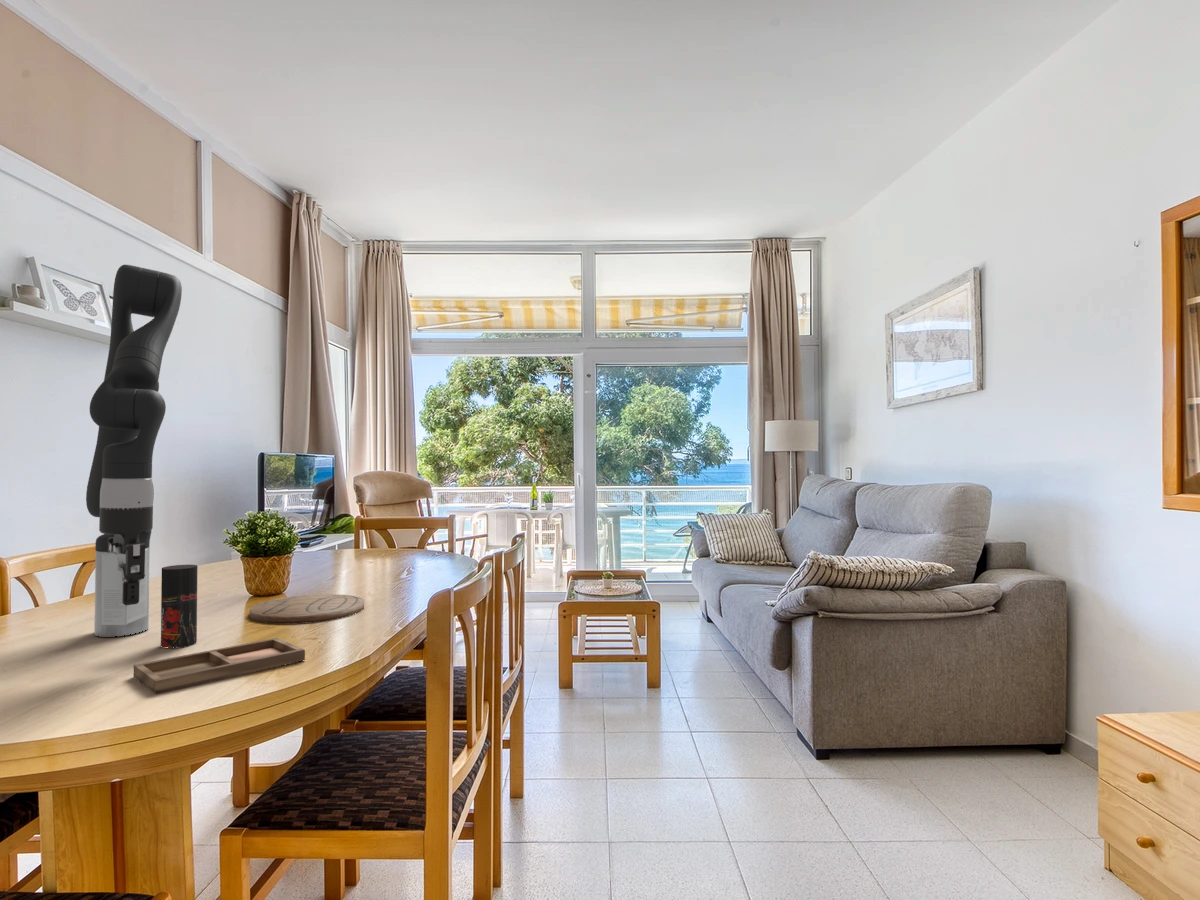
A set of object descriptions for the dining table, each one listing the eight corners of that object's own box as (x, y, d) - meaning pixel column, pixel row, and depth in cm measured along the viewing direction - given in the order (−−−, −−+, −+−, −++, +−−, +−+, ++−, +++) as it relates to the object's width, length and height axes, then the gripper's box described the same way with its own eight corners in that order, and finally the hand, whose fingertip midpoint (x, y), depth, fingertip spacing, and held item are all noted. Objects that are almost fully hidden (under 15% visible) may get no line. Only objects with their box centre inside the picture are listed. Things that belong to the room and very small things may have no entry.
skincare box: (122, 616, 119) (123, 548, 119) (147, 616, 119) (149, 548, 119) (99, 625, 113) (100, 553, 113) (125, 625, 113) (127, 553, 113)
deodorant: (203, 642, 133) (204, 565, 133) (173, 649, 127) (174, 570, 128) (184, 638, 135) (184, 563, 135) (153, 646, 130) (154, 568, 130)
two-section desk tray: (133, 677, 111) (133, 664, 111) (276, 648, 128) (276, 637, 128) (155, 694, 103) (155, 680, 103) (304, 660, 120) (304, 649, 120)
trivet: (234, 627, 146) (234, 618, 146) (266, 603, 170) (267, 596, 170) (355, 622, 150) (356, 613, 151) (370, 599, 175) (370, 592, 175)
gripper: (164, 506, 114) (162, 604, 114) (141, 501, 124) (139, 591, 124) (110, 508, 108) (108, 611, 108) (90, 502, 118) (88, 597, 118)
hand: (124, 600), depth 116 cm, fingers closed on skincare box, 7 cm apart
